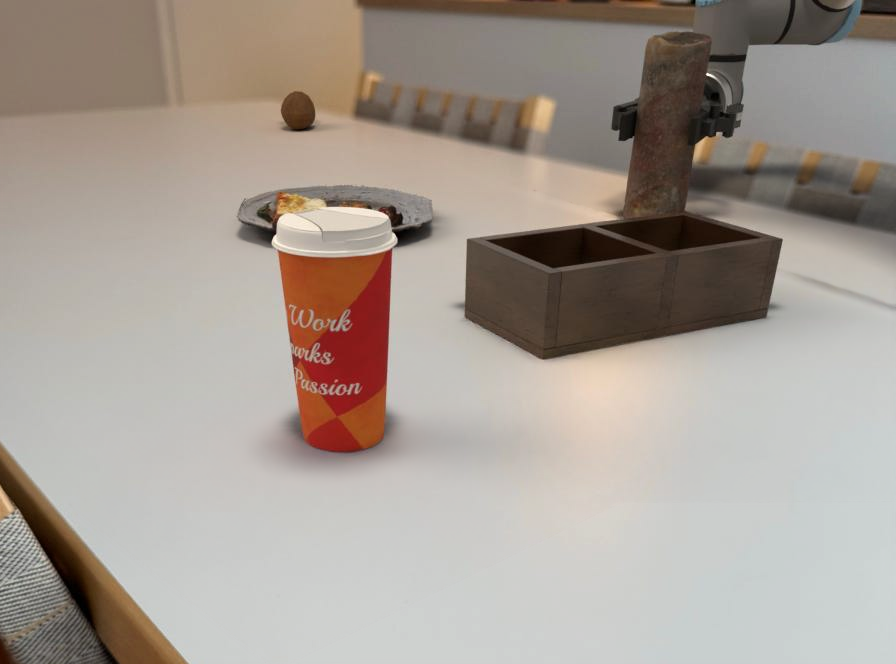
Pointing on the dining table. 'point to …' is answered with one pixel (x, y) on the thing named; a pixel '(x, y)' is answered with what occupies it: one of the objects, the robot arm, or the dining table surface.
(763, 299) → the brown wooden divided box
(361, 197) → the food plate
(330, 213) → the paper cup
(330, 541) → the dining table surface
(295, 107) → the potato
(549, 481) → the dining table surface
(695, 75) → the candle
